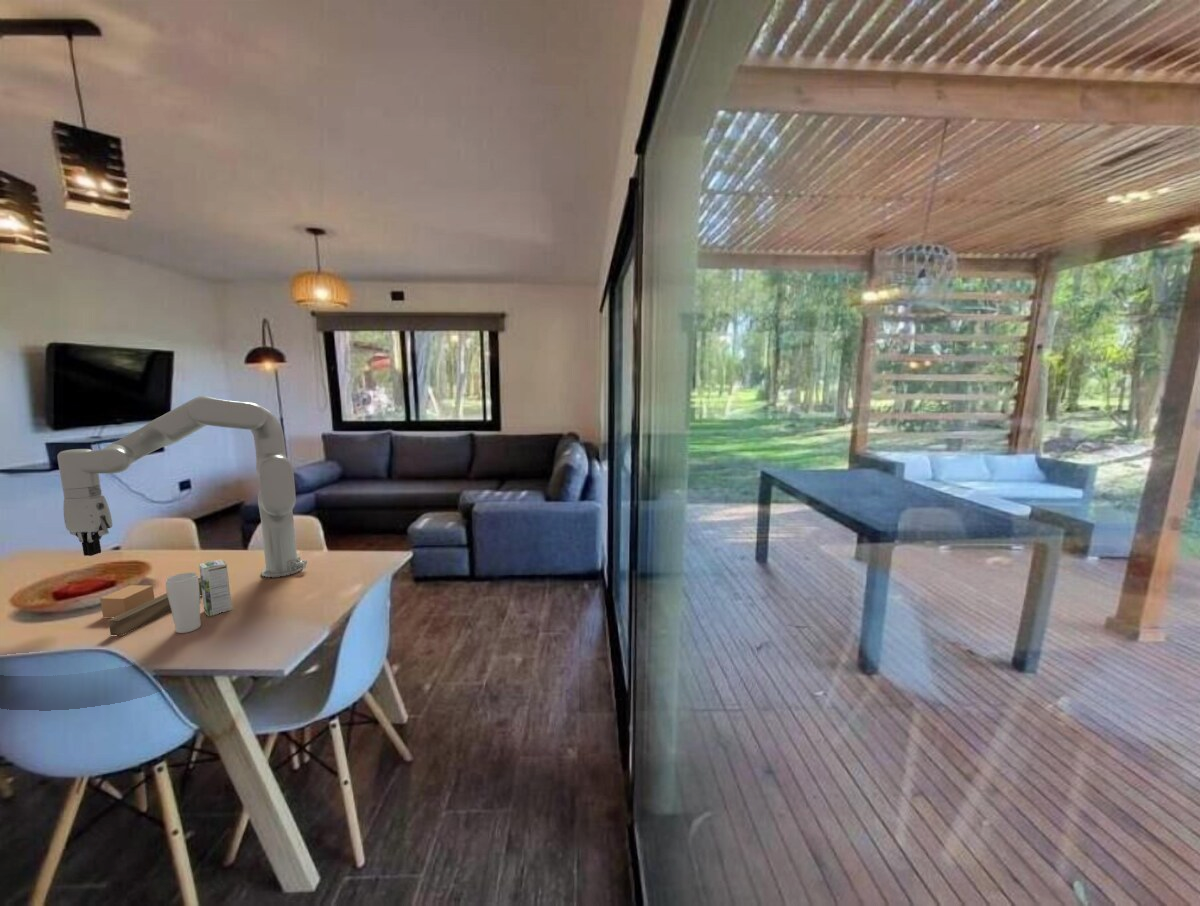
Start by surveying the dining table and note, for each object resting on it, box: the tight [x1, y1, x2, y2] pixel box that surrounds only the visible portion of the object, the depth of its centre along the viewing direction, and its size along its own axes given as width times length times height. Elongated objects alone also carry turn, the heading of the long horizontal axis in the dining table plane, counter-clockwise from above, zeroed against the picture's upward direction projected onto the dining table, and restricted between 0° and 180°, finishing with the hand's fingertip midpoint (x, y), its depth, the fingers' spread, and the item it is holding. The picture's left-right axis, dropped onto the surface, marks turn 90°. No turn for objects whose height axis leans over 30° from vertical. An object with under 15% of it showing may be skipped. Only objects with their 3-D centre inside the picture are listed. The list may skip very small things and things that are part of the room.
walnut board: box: [107, 577, 202, 637], centre depth 148 cm, size 3×28×4 cm, turn 175°
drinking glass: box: [165, 572, 202, 634], centre depth 137 cm, size 7×7×15 cm
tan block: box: [99, 584, 156, 618], centre depth 149 cm, size 7×9×6 cm
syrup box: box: [199, 559, 232, 617], centre depth 148 cm, size 6×6×14 cm
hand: (92, 554), depth 147 cm, fingers closed
